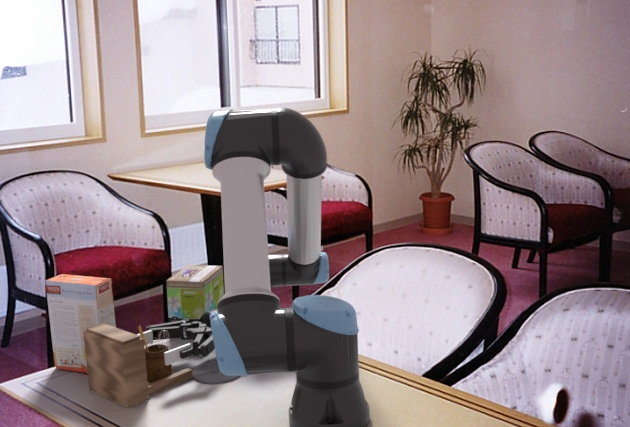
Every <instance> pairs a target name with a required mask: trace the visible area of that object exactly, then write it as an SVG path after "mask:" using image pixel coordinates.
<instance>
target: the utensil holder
mask: <svg viewBox="0 0 630 427" xmlns="http://www.w3.org/2000/svg"><path fill="white" fill-rule="evenodd" d="M137 329H138V332H139V334H140V335H141V338H143V339H144V344H145V345H144V347H145V358H146V370H147V381H148V384H149V383H152V382H154V381H157V380H159V379H162V378H164V377H167V376H169V375H172V374H173V364H170V365H168V366H167V365H165V358H164V352H166V351H169V350H170V349H169V346H168V344H164V343H165V342H164V339H162V341H161V342H162V344H161V343H156V344H151V345H148V344H146V341H145V336H144V334H143V332H144V331H143V329H142V327H141V325H139V326H138V327H137ZM162 331H165V332H166V330H162ZM162 331H160V332H162ZM160 332H159V333H160ZM167 332H168V331H167ZM160 334H161V333H160ZM163 334H164V333H163ZM166 334H167V333H166ZM168 334H169V333H168ZM158 336H161V335H158ZM164 337H165V335H164ZM165 340H166V343H170V340H169V339H165Z"/></svg>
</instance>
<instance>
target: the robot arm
mask: <svg viewBox="0 0 630 427" xmlns="http://www.w3.org/2000/svg"><path fill="white" fill-rule="evenodd" d="M204 134H205V135H204V154H203V155H204V156H203V157H204V166H205V167H206V169H208V170H211V172H212V173H211V174H212V177H213V178H214V179H215V180H217V181H218V182H219V183H220V201H221V203H220V206H221V222H222V223H221V227H222V229H221V230H222V231H221V232H222V249H223V250H222V251H223V256H222V257H223V282H224V296H223V297H222V298H221V299H220V300H219V301H218V303H217V309H214V310H211V311H208V312H205V313H204V314H203V315H202V316H201V318H200V320H199V321H196V322H192V323H189V319H184V320H181V321H176V322H170V323H169V322H164V323H160V324H159V323H158V324H151V325H146V331H143V334H144V336H145V341H146V344H147V345H149V344H153V343H154V341H161V340H162V339H163V340H170V339H172V340H173V339H180V340H182V341H183V340H184V341H186V340H191V341H192V342H191V343H190V342H188V343H186V344H183V345H180V346H178V347H175V348H172V349H169V351H166V352H164V358H165V365H167V366H168V365H170V364H172V365H173V364H175V363H177V362H180V361H183V360H185V359H188V358H191V357H198V356H200V357H202V358H207V357H208V356H209V355H210V354H211V353H212V352H213V351H214V350H215V351H214V352H215V356H216V361H217V362H218V367H219V370H220V371H221V373H223V374H224V375H227V376H240V377H241V376H243V377H247V376H251V375H266V374H280V373H292V372H293V373H295V375H296V376H295V379H296V380H295V381H296V383H295V386H294V391H293V395H292V398H291V402H290V405H289V408H288V423H289V424H288V425H290V427H367V426H368V424H369V423H370V419H371V415H370V414H371V413H370V410H371V409H370V404H369V402H368V401H367V399H366V397H365V393H364V390H363V387H362V384H361V381H360V366H359V339H358V337H359V336H358V334H359V330H360V329H359V326H358V321H357V320H358V317H357V312H356V309H355V307H354V306H353V305H352V304H351V303H350V302H348V301H346V300H344V299H341V298H338V297H335V296H330V295H322V294H321V295H320V294H309V295H308V294H307V295H304V296H298V297H296V298H294V300H293V301H292V304H291V307H281V301H280V298H279V297H278V295H276V294H275V293H274V292H272V288H274V287H275V288H277V287H289V286H294V287H295V286H314V285H318V284H324V283H327V282H328V281H329V279H330V278H329V277H330V264H329V263H330V262H329V256H328V253H327V252H325V251H321V248H322V246H321V244H322V243H321V242H322V241H321V240H322V191H323V190H322V187H323V186H322V185H323V184H322V183H323V180H322V179H323V178H322V177H323V174H324V173H325V172H326V170H327V168H328V166H327V165H328V154H327V152H328V151H327V147H326V144H325V141H324V139H323V137H322V135H321V133H320V131H319V130H318V128H317V127H316V126H315V125H314V124H313V123H312V121H311V120H309V119H308V118H307V117H306V116H305V115H304V114H302V113H301V112H299V111H297V110H294V109H292V108H288V107H275V108H273V107H272V108H256V109H254V108H253V109H238V110H236V109H235V110H234V109H232V108H231V109H228V110H220V111H214V112H212V113H211V114H209V117H208V118H207V121H206V127H205V132H204ZM271 166H281V170H282V171H283V173H284V174H285V176H286V204H287V205H286V209H287V211H286V212H287V214H286V217H287V250H288V252H287V253H285V254H281V253H280V254H269V244H268V242H269V241H268V229H267V228H268V227H267V226H268V225H267V212H266V211H267V210H266V198H265V197H266V196H265V182H264V181H265V180H266V179H267V178H268V177H269V176H270V174H271V171H272V170H271ZM162 330H166V332H165V331H162ZM160 331H162V332H160ZM167 331H168V332H167ZM159 332H160V333H161V334H160V333H159ZM184 332H185V333H186V336H184ZM163 333H164V334H163ZM166 333H167V334H166ZM168 333H169V334H168ZM136 335H138V336H140V338H141V335H140V333H137V334H136ZM158 335H161V336H158ZM164 335H165V337H164ZM144 346H145V344H144Z"/></svg>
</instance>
